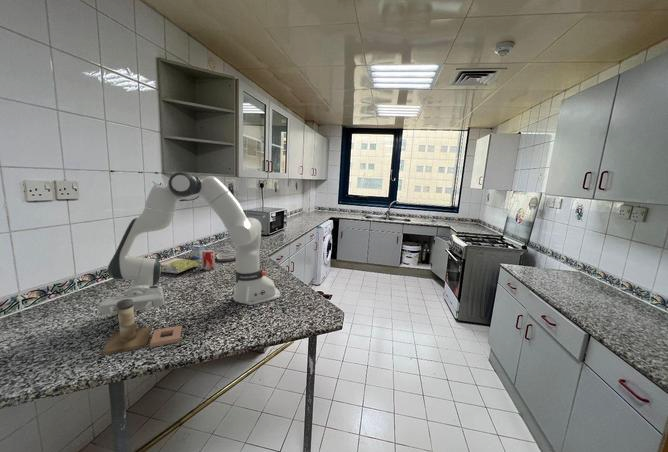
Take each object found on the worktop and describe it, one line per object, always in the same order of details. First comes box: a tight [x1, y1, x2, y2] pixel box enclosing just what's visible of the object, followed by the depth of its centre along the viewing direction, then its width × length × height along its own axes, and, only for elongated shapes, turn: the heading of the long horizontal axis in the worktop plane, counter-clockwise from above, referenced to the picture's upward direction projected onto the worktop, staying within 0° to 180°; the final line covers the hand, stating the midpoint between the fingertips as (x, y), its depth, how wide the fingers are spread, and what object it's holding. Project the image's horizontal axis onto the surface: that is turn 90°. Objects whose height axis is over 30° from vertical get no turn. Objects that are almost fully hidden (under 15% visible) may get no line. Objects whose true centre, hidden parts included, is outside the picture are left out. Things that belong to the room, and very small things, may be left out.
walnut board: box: [101, 326, 153, 356], centre depth 99 cm, size 12×12×1 cm
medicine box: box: [191, 244, 205, 260], centre depth 196 cm, size 8×4×9 cm, turn 68°
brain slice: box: [215, 250, 236, 263], centre depth 198 cm, size 20×17×3 cm
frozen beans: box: [159, 257, 203, 274], centre depth 171 cm, size 21×6×25 cm
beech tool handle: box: [117, 299, 137, 342], centre depth 97 cm, size 4×4×14 cm
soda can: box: [201, 248, 216, 271], centre depth 174 cm, size 7×7×12 cm
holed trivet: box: [149, 325, 183, 348], centre depth 102 cm, size 9×9×2 cm
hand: (128, 311), depth 100 cm, fingers open, 8 cm apart
